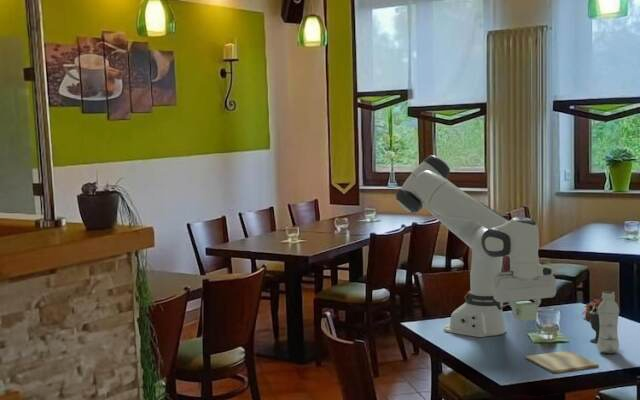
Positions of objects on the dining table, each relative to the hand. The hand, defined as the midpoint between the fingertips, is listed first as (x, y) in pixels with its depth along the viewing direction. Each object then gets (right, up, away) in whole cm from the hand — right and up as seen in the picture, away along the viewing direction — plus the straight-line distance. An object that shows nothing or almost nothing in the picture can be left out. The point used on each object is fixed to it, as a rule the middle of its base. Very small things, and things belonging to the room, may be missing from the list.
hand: (525, 313), depth 241 cm
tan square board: (+13, -16, +5) cm, 21 cm away
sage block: (0, -2, 0) cm, 2 cm away
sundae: (+32, -14, +26) cm, 43 cm away
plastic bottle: (+31, -15, +13) cm, 37 cm away
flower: (+41, -10, +56) cm, 70 cm away
